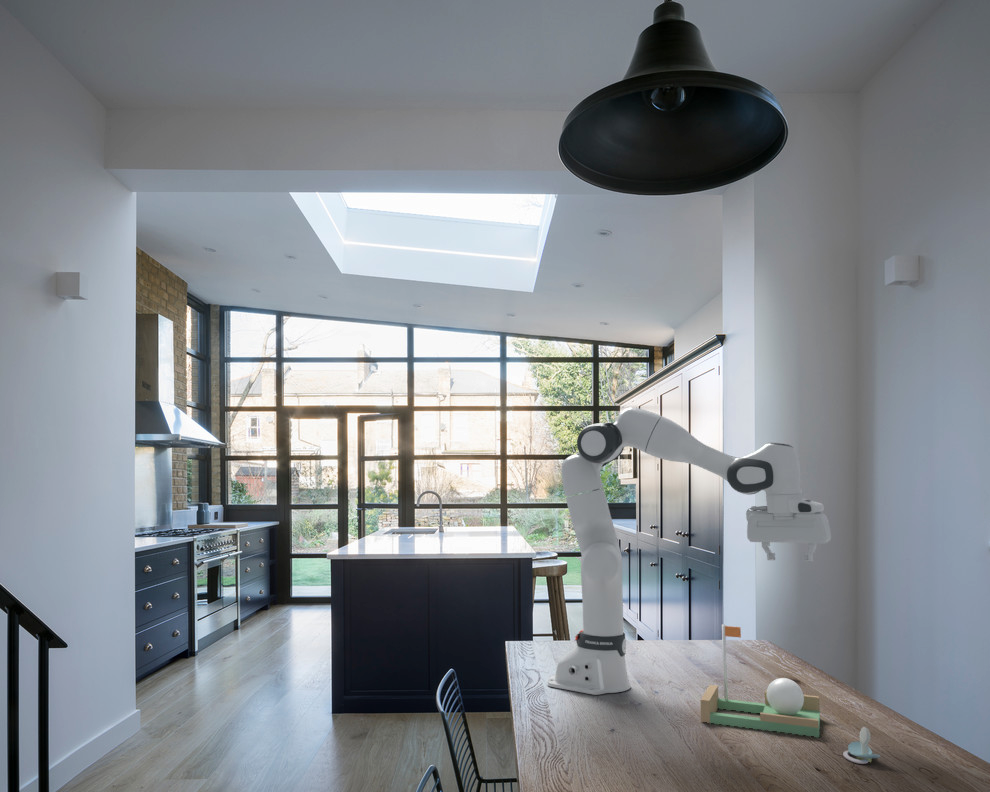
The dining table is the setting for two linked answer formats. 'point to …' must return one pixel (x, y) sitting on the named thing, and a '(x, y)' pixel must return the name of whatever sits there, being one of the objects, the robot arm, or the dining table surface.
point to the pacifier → (861, 749)
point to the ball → (785, 696)
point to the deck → (757, 707)
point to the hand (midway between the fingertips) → (790, 560)
